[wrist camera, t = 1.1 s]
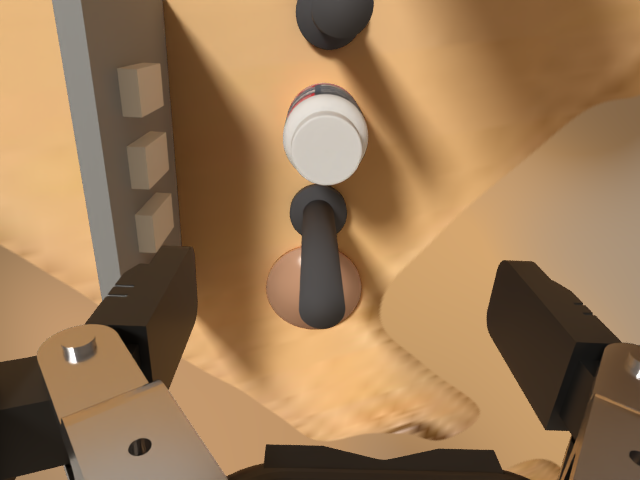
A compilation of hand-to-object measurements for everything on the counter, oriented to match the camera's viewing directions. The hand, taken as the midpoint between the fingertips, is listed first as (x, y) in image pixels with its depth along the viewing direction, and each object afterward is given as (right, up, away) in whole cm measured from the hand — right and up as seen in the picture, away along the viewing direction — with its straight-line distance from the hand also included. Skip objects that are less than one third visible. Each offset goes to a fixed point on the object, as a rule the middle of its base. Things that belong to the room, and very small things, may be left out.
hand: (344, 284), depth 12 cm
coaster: (-1, -3, +27) cm, 27 cm away
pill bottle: (0, +10, +22) cm, 24 cm away
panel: (-12, +7, +22) cm, 26 cm away
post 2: (-1, +4, +24) cm, 24 cm away
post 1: (0, +16, +18) cm, 25 cm away
